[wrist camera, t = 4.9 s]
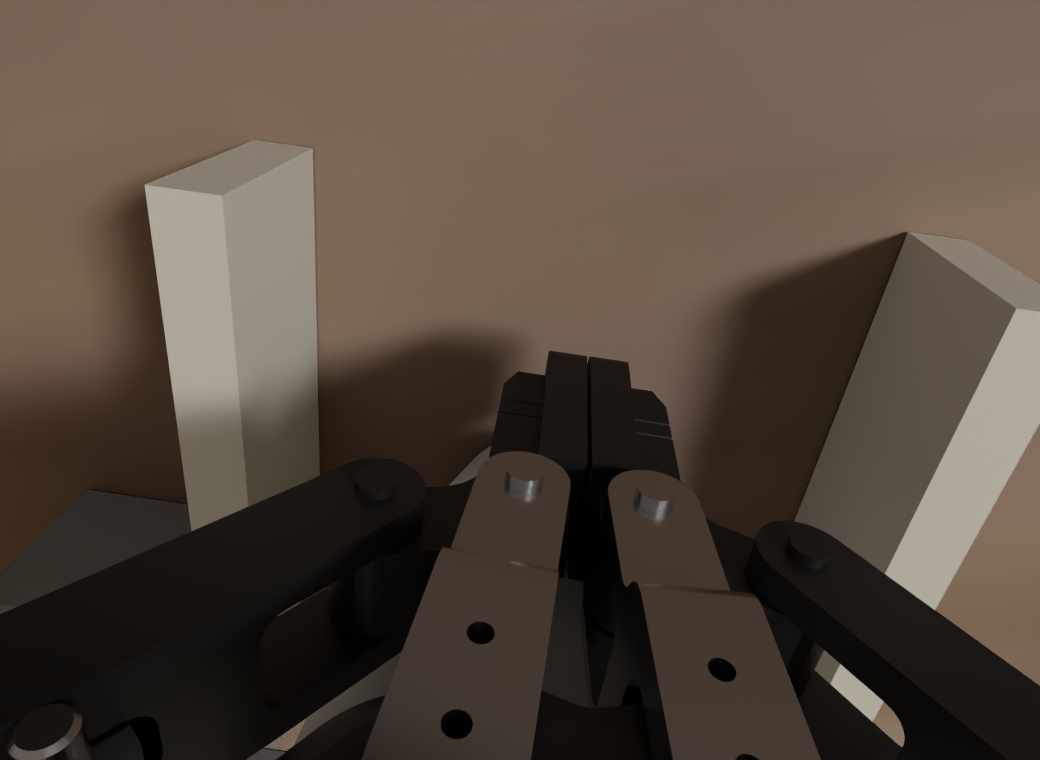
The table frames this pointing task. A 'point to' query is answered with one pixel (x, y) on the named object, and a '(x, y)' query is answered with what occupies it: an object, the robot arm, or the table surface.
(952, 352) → the box
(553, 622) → the cup
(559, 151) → the table surface
